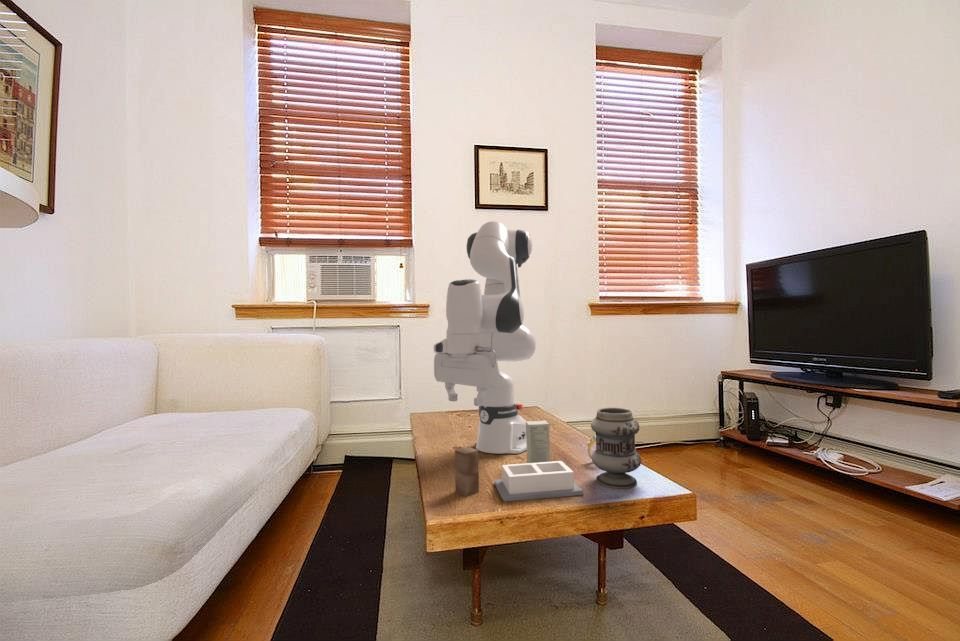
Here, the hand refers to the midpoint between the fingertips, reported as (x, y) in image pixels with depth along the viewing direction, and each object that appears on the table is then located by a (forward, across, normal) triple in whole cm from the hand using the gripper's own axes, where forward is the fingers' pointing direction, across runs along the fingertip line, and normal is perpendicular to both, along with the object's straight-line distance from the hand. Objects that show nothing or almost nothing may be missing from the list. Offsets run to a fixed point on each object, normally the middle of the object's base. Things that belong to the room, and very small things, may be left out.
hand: (465, 403), depth 103 cm
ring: (+21, -11, -41) cm, 48 cm away
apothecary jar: (+21, -22, -31) cm, 44 cm away
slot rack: (+21, -11, -13) cm, 27 cm away
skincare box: (+21, 0, -27) cm, 35 cm away
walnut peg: (+21, 0, 0) cm, 21 cm away
